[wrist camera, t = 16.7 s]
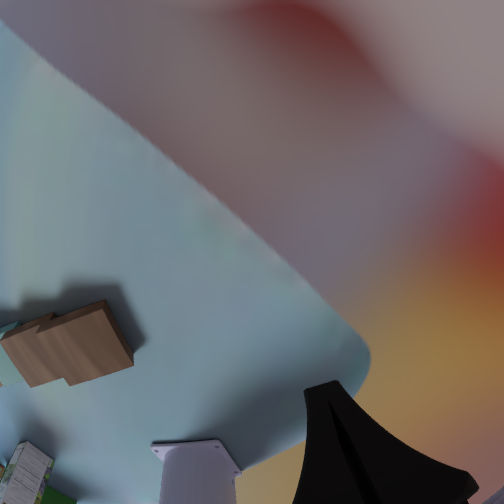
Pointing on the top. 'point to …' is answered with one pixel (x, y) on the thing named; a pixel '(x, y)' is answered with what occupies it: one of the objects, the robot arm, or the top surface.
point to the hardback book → (52, 496)
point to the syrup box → (25, 476)
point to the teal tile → (8, 361)
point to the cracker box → (1, 471)
